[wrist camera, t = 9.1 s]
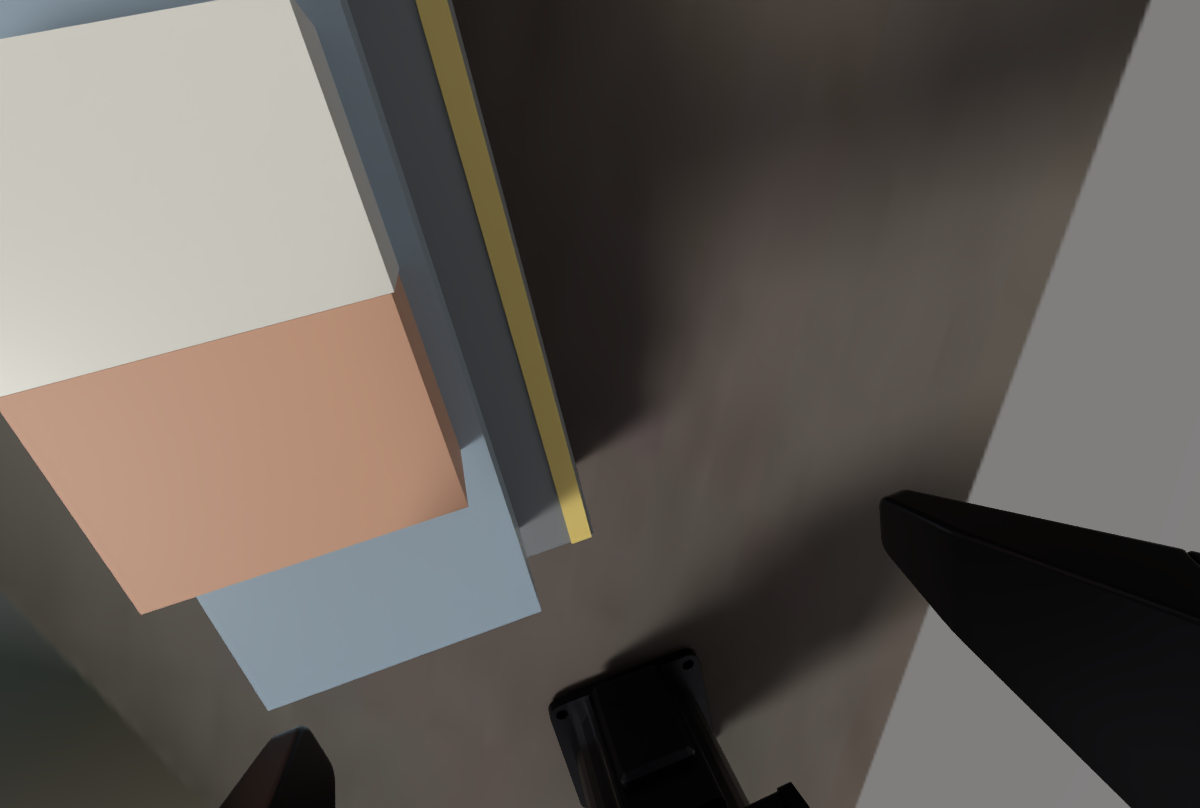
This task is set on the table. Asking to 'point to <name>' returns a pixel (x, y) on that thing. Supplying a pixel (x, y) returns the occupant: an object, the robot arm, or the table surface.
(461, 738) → the table surface
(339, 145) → the off-white block
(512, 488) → the dock
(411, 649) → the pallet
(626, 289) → the table surface
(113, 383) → the salmon brown block
